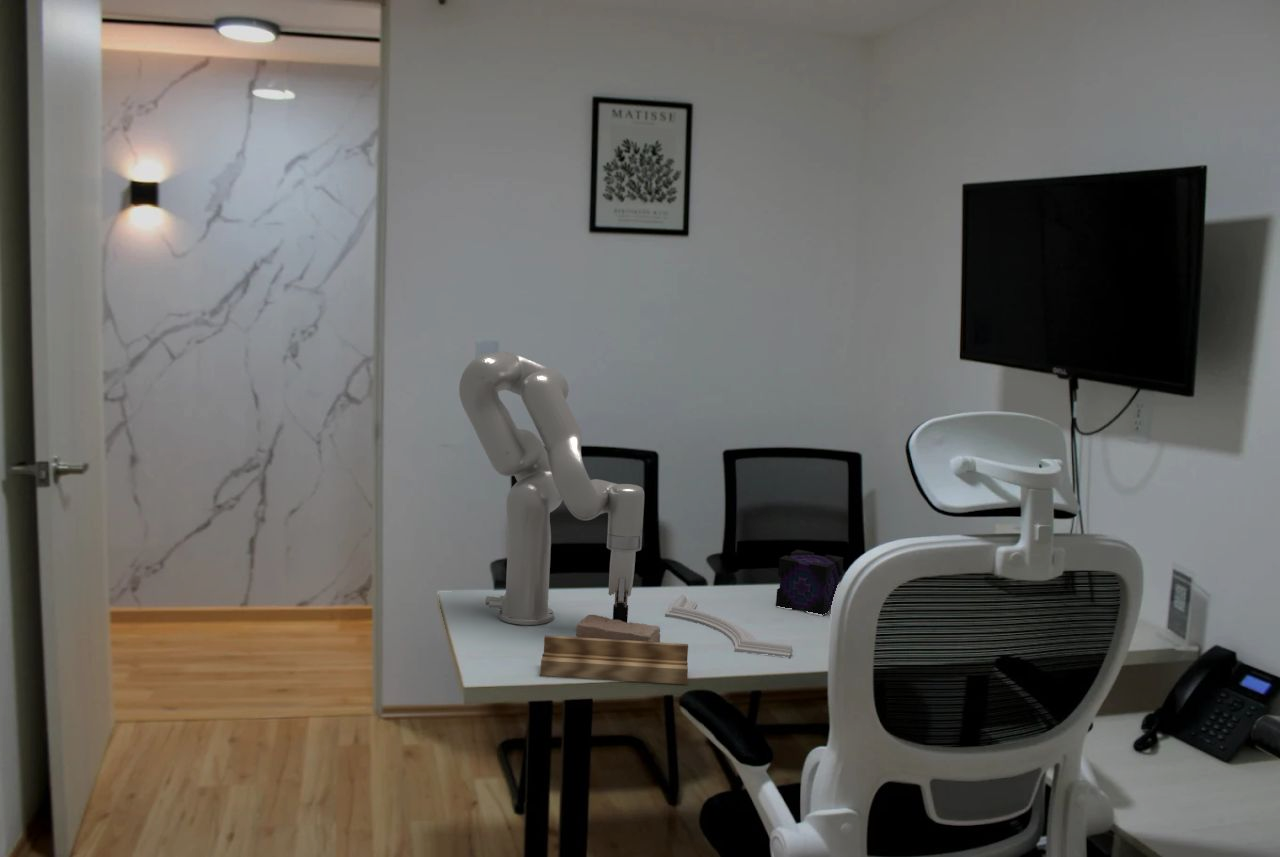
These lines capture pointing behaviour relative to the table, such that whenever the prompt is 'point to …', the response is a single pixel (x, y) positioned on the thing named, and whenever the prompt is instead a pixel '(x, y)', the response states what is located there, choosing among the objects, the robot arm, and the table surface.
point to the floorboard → (615, 659)
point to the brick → (616, 630)
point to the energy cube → (808, 581)
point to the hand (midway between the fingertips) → (619, 623)
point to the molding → (726, 629)
